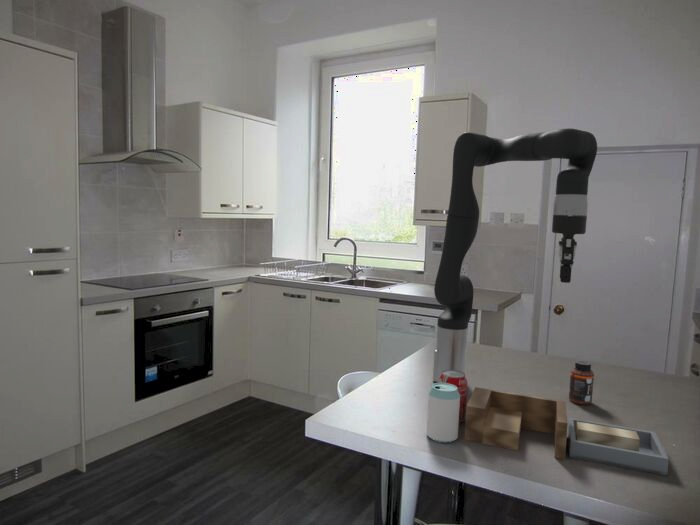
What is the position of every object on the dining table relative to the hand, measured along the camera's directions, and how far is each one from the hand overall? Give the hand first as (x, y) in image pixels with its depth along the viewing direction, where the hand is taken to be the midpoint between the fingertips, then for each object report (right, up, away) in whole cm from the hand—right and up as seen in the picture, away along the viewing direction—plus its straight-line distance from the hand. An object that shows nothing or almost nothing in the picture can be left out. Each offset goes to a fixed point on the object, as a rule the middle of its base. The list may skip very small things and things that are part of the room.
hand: (564, 280), depth 120 cm
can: (-31, -36, -7) cm, 48 cm away
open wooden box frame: (-14, -36, -6) cm, 39 cm away
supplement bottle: (+13, -35, +19) cm, 42 cm away
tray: (+6, -38, -11) cm, 40 cm away
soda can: (-27, -35, +3) cm, 45 cm away
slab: (+4, -37, -11) cm, 39 cm away
